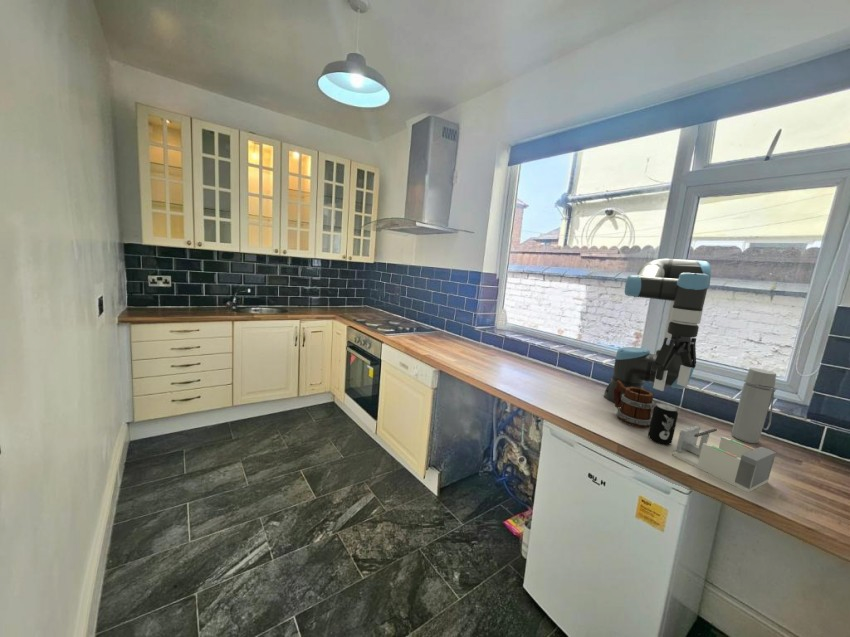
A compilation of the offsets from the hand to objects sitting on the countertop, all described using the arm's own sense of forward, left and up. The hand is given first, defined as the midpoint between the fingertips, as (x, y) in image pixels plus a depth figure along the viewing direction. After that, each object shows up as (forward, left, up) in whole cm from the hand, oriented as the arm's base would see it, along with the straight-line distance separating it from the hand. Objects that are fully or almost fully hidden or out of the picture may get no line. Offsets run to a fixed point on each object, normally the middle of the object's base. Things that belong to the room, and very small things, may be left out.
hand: (670, 387), depth 109 cm
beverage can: (0, 0, -19) cm, 19 cm away
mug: (-6, -14, -19) cm, 24 cm away
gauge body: (0, +16, -18) cm, 24 cm away
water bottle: (-34, +11, -19) cm, 40 cm away
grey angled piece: (0, +11, -17) cm, 20 cm away
